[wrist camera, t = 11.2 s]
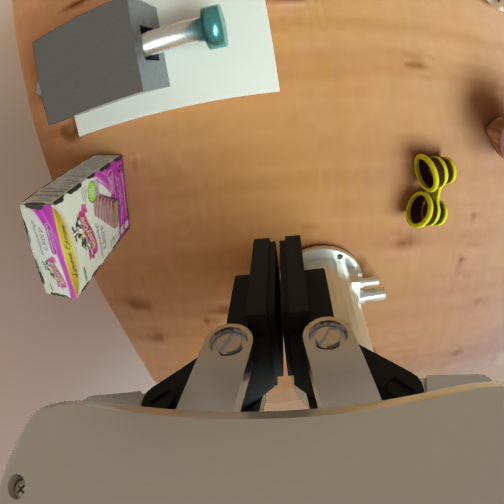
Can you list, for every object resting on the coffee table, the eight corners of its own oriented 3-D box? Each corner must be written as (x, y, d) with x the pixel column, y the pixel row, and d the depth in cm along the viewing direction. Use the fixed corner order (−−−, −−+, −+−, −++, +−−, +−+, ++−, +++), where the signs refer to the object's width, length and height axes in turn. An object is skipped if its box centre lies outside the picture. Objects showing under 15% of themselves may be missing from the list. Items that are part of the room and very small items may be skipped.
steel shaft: (222, 9, 24) (214, -1, 20) (229, 48, 27) (222, 44, 23) (50, 69, 27) (27, 73, 23) (57, 102, 30) (34, 109, 26)
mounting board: (258, -32, 23) (258, -35, 22) (279, 90, 32) (279, 91, 31) (63, 30, 27) (58, 30, 26) (84, 134, 35) (79, 136, 34)
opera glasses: (428, 216, 39) (448, 232, 35) (399, 217, 39) (419, 235, 35) (440, 151, 34) (464, 163, 30) (411, 148, 34) (434, 160, 30)
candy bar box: (132, 227, 43) (78, 302, 29) (103, 225, 43) (45, 295, 29) (125, 152, 37) (51, 205, 23) (93, 153, 37) (15, 204, 23)
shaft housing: (156, 7, 25) (126, -6, 19) (170, 86, 31) (143, 91, 24) (72, 41, 27) (32, 42, 20) (85, 112, 32) (48, 126, 26)
